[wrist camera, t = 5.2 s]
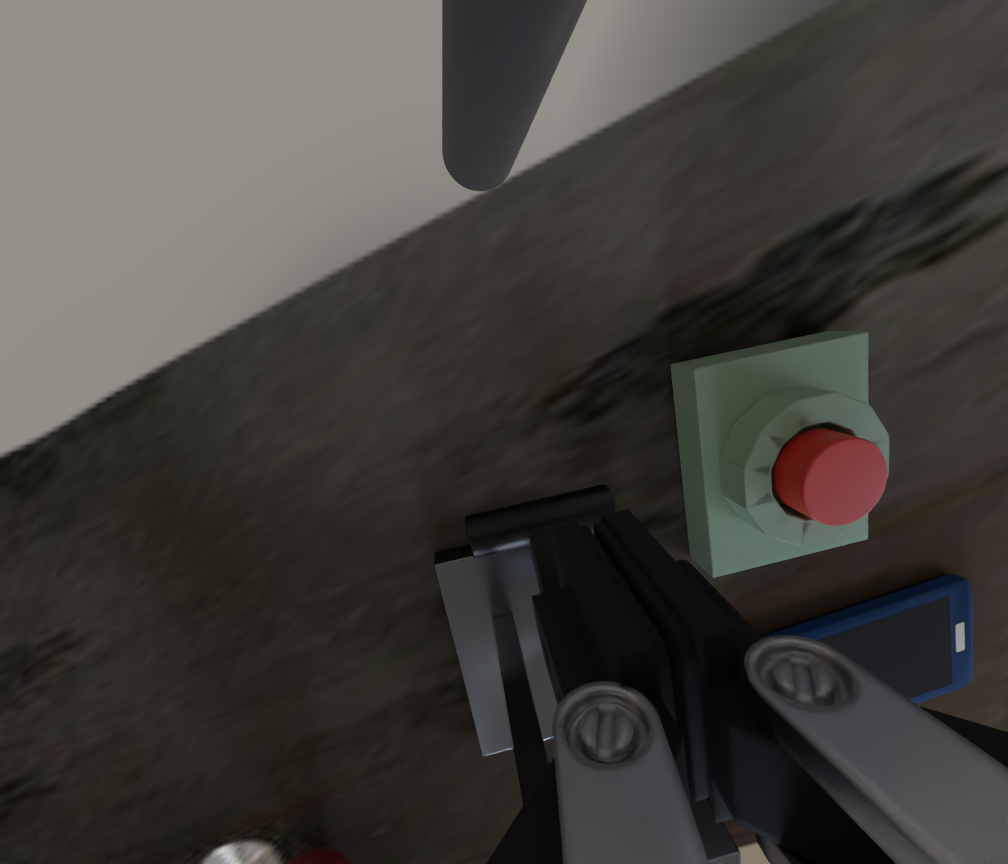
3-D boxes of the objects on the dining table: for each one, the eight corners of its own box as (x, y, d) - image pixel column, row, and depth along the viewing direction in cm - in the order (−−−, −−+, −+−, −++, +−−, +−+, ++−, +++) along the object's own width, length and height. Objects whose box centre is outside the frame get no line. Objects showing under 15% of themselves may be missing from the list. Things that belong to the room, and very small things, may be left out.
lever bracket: (434, 551, 22) (424, 832, 10) (615, 509, 23) (814, 722, 11) (480, 735, 25) (517, 1136, 13) (641, 693, 26) (824, 1032, 13)
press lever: (466, 519, 17) (462, 512, 15) (597, 489, 18) (612, 478, 15) (549, 921, 14) (559, 990, 12) (707, 873, 14) (746, 931, 12)
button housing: (669, 364, 22) (718, 372, 18) (828, 330, 22) (909, 332, 19) (689, 556, 24) (735, 600, 20) (832, 521, 25) (904, 557, 21)
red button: (769, 438, 19) (801, 449, 18) (850, 419, 20) (888, 428, 18) (773, 518, 20) (804, 536, 18) (851, 499, 20) (888, 515, 19)
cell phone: (962, 674, 28) (976, 683, 28) (747, 749, 28) (756, 761, 27) (959, 569, 27) (974, 576, 26) (729, 646, 26) (737, 655, 25)
